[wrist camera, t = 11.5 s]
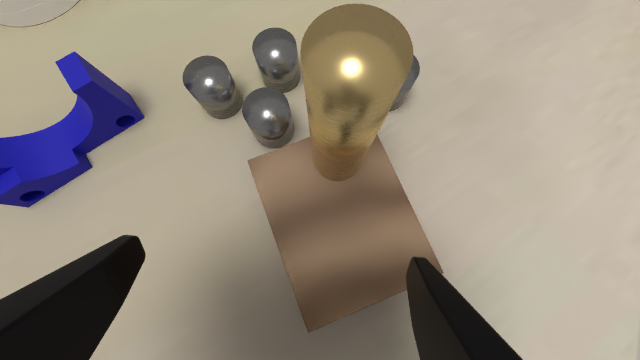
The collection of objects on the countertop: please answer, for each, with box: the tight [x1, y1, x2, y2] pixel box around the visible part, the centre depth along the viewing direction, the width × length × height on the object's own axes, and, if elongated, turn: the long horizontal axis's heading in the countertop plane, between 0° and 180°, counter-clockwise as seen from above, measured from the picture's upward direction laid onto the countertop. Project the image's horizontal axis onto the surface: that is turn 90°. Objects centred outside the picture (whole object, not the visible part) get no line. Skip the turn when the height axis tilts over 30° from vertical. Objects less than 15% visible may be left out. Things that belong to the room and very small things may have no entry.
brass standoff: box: [301, 4, 413, 181], centre depth 16 cm, size 4×4×13 cm
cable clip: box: [0, 52, 145, 207], centre depth 21 cm, size 12×4×6 cm, turn 127°
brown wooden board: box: [248, 135, 443, 333], centre depth 22 cm, size 14×11×2 cm
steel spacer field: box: [183, 28, 420, 148], centre depth 23 cm, size 9×18×4 cm, turn 112°
